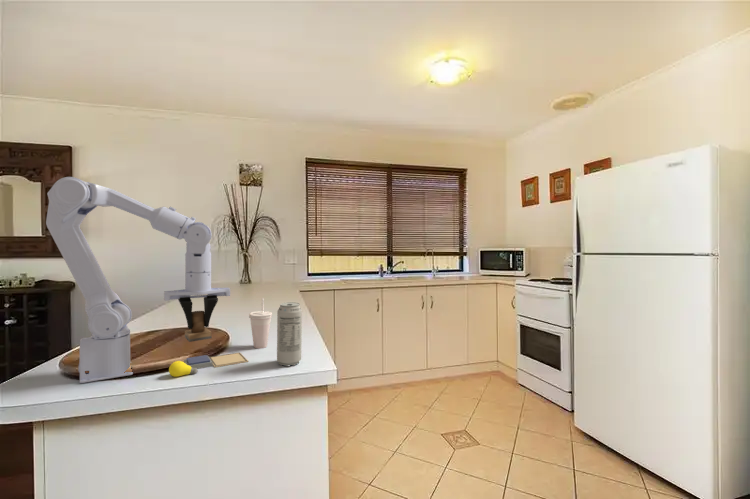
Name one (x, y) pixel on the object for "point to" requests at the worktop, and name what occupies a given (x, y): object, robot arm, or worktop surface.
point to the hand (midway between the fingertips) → (198, 327)
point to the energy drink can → (289, 333)
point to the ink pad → (199, 362)
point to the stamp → (198, 328)
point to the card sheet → (228, 359)
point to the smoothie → (260, 327)
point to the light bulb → (181, 369)
